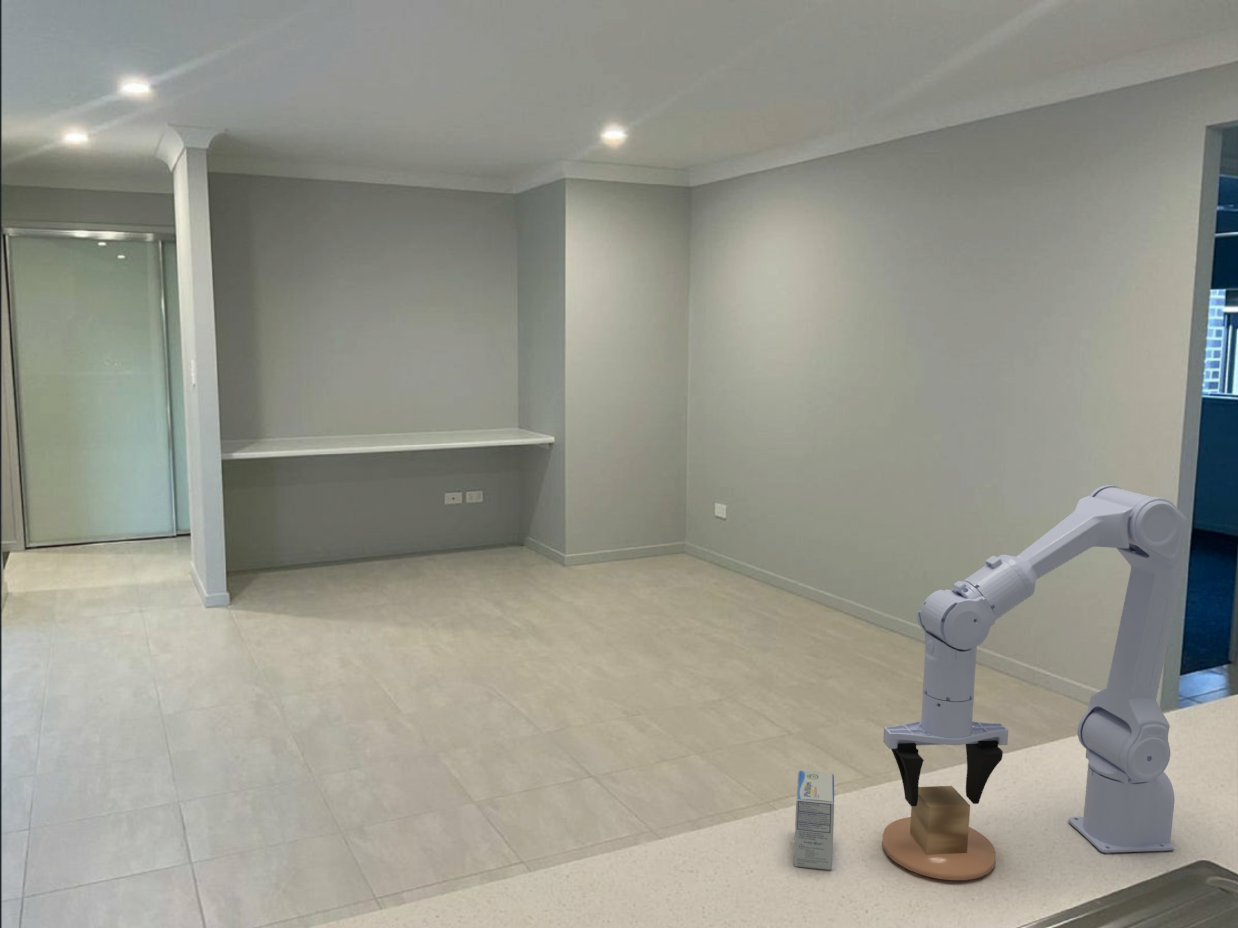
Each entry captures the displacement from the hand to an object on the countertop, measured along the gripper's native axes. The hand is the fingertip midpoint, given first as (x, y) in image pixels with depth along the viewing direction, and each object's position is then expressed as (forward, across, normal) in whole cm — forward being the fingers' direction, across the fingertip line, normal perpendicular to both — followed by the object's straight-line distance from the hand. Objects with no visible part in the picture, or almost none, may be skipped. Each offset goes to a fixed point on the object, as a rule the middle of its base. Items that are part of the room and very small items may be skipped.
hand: (941, 800), depth 119 cm
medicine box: (+7, +15, -2) cm, 17 cm away
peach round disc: (+7, 0, 0) cm, 7 cm away
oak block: (+5, 0, 0) cm, 5 cm away
